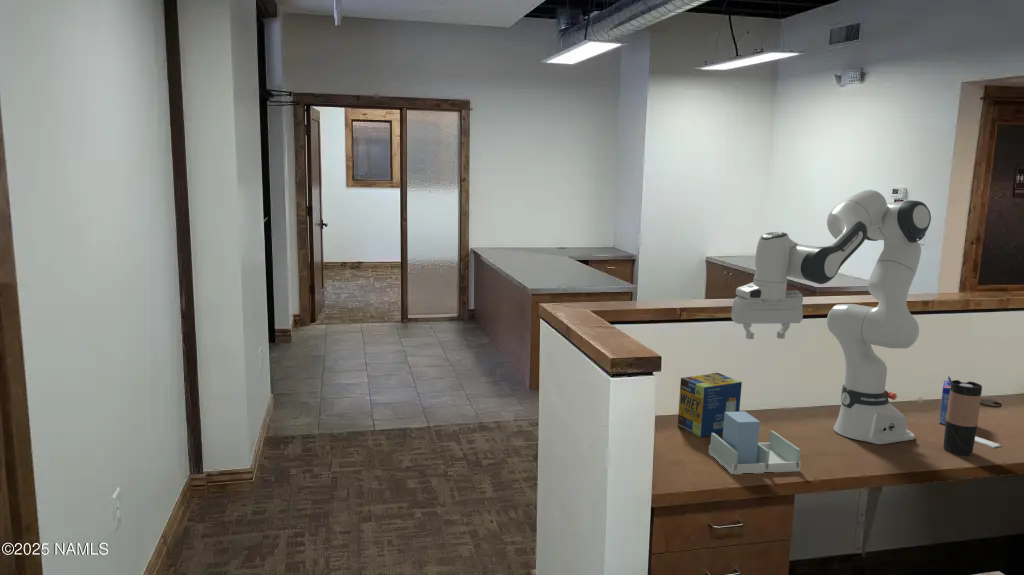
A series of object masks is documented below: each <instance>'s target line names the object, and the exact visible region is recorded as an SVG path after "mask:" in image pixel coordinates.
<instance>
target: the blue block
mask: <svg viewBox="0 0 1024 575" xmlns="http://www.w3.org/2000/svg"><path fill="white" fill-rule="evenodd" d="M760 424H761V422H760V420H759V419H757V418H755V417H754V416H753V415H752V414H749V413H748V412H746V411H745V410H744V411H742V410H741V411H739V412H725V413H724V425H723V433H722V438H721V439H722V440H724V441H725V442H726V443H727V444H728V445H730V446H731V447H732V448H733V449H735V450H736V451H737V452H738V461H737V464H754V463H756V461H757V449H758V443H759V438H760V437H759V435H760Z"/></svg>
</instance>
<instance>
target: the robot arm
mask: <svg viewBox="0 0 1024 575" xmlns="http://www.w3.org/2000/svg"><path fill="white" fill-rule="evenodd" d="M931 219H932V216H931V212H930V209H929V207H928V206H927V204H925V202H923V201H920V200H910V199H909V200H905V201H893V202H888V203H887V200H886V198H885V196H884V195H883V194H882V193H881V192H879V191H876V190H873V189H867V190H865V189H864V190H862V191H860V192H857V193H855V194H854V195H851V196H850V197H848V198H846V199H845V200H843V201H842V202H841V203H839V204H837V205H836V206H835V207H834V208H832V210H831V211H830V212H829V214H828V215H827V219H826V225H827V230H828V231H829V233H830V235H831V236H832V237H833V238H834V239H835V240H834V241H833V242H832V243H830V245H825V246H815V245H807V244H801V243H800V244H799V243H798V242H795V241H794V240H792V239H791V238H790V237H789V234H788V233H786V232H783V231H774V232H773V231H771V232H766V233H763V234H762V235H760V237H759V239H758V242H757V245H756V249H755V250H756V251H755V259H754V266H755V274H754V276H753V281H752V282H749V283H746V284H745V285H741V286H738V287H737V288H736V289H735V294H736V295H737V296H735V298H734V300H733V302H732V307H731V315H730V317H731V320H732V321H733V323H736V324H737V325H742V328H744V331H745V332H746V335H745V339H747V340H754V339H755V337H754V336H755V333H754V332H752V331H751V328H752V324H753V325H755V324H757V325H758V324H760V325H762V324H766V325H767V324H771V325H772V324H780V326H782V327H781V328H780V330H779V331H777V332H776V338H777V339H780V340H784V339H785V338H786V333H787V332H788V330H789V328H790V327H791V326H790V324H800V323H801V322H802V321H803V317H804V316H803V314H804V310H803V301H804V296H803V293H802V292H801V291H799V290H797V289H796V290H791V289H790V290H789V289H788V290H787V286H788V278H793V279H798V280H804V281H808V282H811V283H814V284H818V285H825V284H827V283H829V282H831V281H832V280H833V279H834V278H835V277H836V275H837V274H838V272H839V271H840V269H841V268H842V266H843V265H844V264H845V263H846V261H848V260H849V258H851V257H852V255H853V254H854V253H855V252H856V251H857V250H858V249H859V248H860V247H861V246H862V245H863V244H864V242H865V241H870V242H871V241H872V242H876V241H883V248H882V249H883V250H882V251H881V253H880V255H879V257H878V259H877V261H876V263H875V265H874V268H873V270H872V272H871V274H870V277H869V278H868V281H867V291H868V293H869V294H870V295H871V296H872V297H873V298H874V299H875V300H877V301H878V304H877V305H876V306H868V305H861V304H856V303H840V304H835V305H834V306H833V307H832V308H831V309H830V310H829V312H828V314H827V318H826V324H827V328H828V331H829V332H830V333H831V334H832V335H833V336H834V337H835V338H836V340H837V341H838V344H839V345H840V347H841V349H842V351H843V355H844V360H845V370H844V371H845V372H844V383H843V385H842V386H841V387H842V389H841V396H840V398H841V404H840V408H839V409H840V410H839V412H838V417H837V419H836V422H835V424H834V427H833V430H834V431H835V433H837V434H839V435H841V436H843V437H846V438H848V439H849V438H850V439H852V440H857V441H862V442H863V441H864V442H868V443H872V444H876V445H886V444H891V443H897V442H898V443H899V442H906V441H911V440H915V438H916V437H915V436H916V435H915V434H914V433H913V432H912V431H910V430H909V429H907V425H908V424H907V419H906V417H905V415H904V414H903V413H902V412H901V411H899V410H898V409H897V407H895V406H894V405H892V404H891V403H890V400H889V399H891V400H892V401H896V399H897V398H898V395H897V393H894V392H892V391H888V390H886V383H887V375H888V367H887V365H886V362H885V361H884V360H883V359H882V358H881V357H879V356H878V355H877V354H876V352H875V351H874V349H873V348H872V345H873V346H877V347H883V348H887V349H908V348H910V347H911V346H913V345H914V344H915V343H916V342H917V340H918V337H919V334H920V333H919V332H920V328H919V327H920V326H919V324H918V321H917V319H916V317H914V316H913V315H912V313H911V312H910V311H909V308H908V304H907V303H908V300H907V299H908V295H909V292H910V288H911V285H912V283H913V280H914V279H915V275H916V274H917V271H918V269H919V268H918V267H919V264H920V259H921V256H922V247H921V245H920V243H919V241H921V240H923V239H924V237H925V235H926V233H927V231H928V229H929V228H930V225H931V221H932V220H931Z"/></svg>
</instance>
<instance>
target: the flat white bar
mask: <svg viewBox="0 0 1024 575" xmlns="http://www.w3.org/2000/svg"><path fill="white" fill-rule="evenodd" d="M975 441H976V443H978V444H981V445H984V446H986V447H990V448H992V449H994V448H995V449H996V448H999V447H1003V445H1001V444H999V443H996V442H994V441H990V440H988V439H985V438H982V437H980V436H977V435H975ZM975 441H974V442H975Z"/></svg>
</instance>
